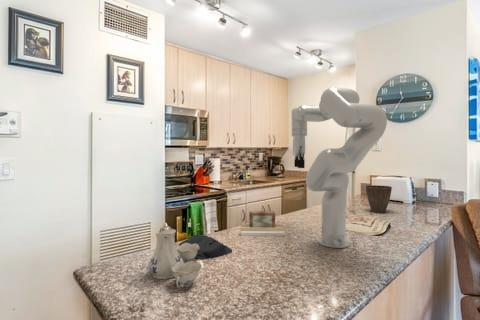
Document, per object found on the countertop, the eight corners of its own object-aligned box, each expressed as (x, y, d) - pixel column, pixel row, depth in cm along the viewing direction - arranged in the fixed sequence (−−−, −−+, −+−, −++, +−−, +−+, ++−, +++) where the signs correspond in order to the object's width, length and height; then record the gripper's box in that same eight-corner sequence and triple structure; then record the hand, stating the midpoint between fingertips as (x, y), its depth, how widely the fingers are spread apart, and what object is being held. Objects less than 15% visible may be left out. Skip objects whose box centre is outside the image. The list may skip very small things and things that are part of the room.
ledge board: (281, 228, 140) (281, 222, 140) (284, 235, 128) (284, 229, 128) (241, 228, 141) (241, 222, 141) (240, 235, 129) (240, 229, 129)
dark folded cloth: (209, 239, 125) (209, 228, 125) (235, 254, 107) (235, 242, 107) (176, 245, 117) (176, 234, 117) (197, 263, 99) (197, 249, 99)
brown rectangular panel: (274, 227, 136) (274, 211, 136) (275, 230, 132) (275, 213, 132) (249, 227, 137) (249, 211, 137) (249, 230, 133) (249, 213, 132)
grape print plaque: (317, 233, 144) (382, 242, 126) (317, 221, 143) (382, 228, 125) (336, 218, 166) (393, 224, 148) (335, 208, 166) (393, 213, 147)
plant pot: (361, 211, 178) (361, 186, 178) (371, 208, 188) (371, 184, 188) (386, 215, 167) (386, 188, 167) (395, 211, 177) (395, 186, 177)
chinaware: (206, 296, 78) (212, 236, 78) (143, 298, 74) (149, 235, 74) (195, 259, 106) (200, 215, 105) (149, 259, 101) (153, 213, 101)
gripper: (289, 134, 149) (289, 166, 150) (294, 132, 132) (294, 168, 132) (303, 134, 149) (303, 166, 149) (310, 131, 132) (310, 168, 132)
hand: (299, 167), depth 141 cm, fingers open, 9 cm apart
